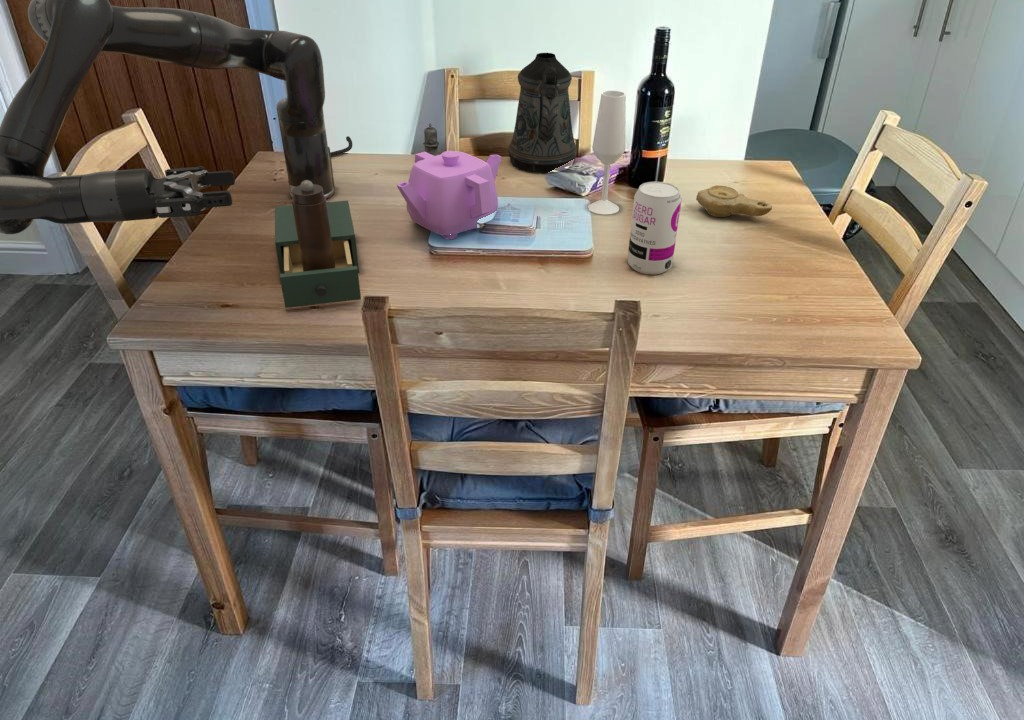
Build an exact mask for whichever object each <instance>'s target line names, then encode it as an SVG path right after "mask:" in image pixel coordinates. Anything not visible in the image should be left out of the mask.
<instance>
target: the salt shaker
mask: <svg viewBox="0 0 1024 720" xmlns="http://www.w3.org/2000/svg"><path fill="white" fill-rule="evenodd" d="M432 125H433V124H432V123H431V122H430V123H429V124H428V127H425V128H424V131H423V135H424V142H423V143H422V144H423V146H424V152H427V153H429V154H431V155H434V156H437V155H440V154H439V145H440V142H439V141H438V130H437V129H436V128H435V127H433V126H432Z"/></svg>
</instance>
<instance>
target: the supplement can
mask: <svg viewBox="0 0 1024 720" xmlns="http://www.w3.org/2000/svg"><path fill="white" fill-rule="evenodd" d="M682 199H683V198H682V196H681V194H680V189H679V188H678V186H676V185H674V184H671V183H669V182H665V181H647V182H643V183H642V184H640V185H639V186H638V189H637V190H636V192H635V194H634V197H633V205H632V215H631V223H630V233H629V242H628V251H627V264H628V265H629V266H630V268H631V269H633V270H634V271H636V272H637V273H640V274H644V275H653V276H654V275H661V274H663V273H666V272H667V271H668V270H669V269H671V268H672V266H673V261H674V256H675V248H676V241H677V234H678V228H679V222H680V221H679V220H680V215H681V214H680V213H681V209H682V208H681V207H682Z"/></svg>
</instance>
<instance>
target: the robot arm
mask: <svg viewBox="0 0 1024 720" xmlns="http://www.w3.org/2000/svg"><path fill="white" fill-rule="evenodd" d="M27 18H28V21H29V24H30V26H31V28H32V29H33V31H34V32H35V33H36V35H37V36H38V37H39V38H41V40H42V41H44V42H45V43H46V45H45V47H44V49H43V52H42V54H41V56H40V58H39V60H38V61H37V64H36V66H35V67H34V68H33V70H32V71H31V73H30V74H29V76H28V77H27V79H26V80H25V81H24V82H23V84H22V85H21V87H20V88H19V90H18V91H17V92H16V94H15V95H14V97H13V99H12V101H11V102H10V103H9V106H8V107H7V109H6V111H5V113H4V116H3V118H2V120H1V123H0V234H4V235H17V234H20V233H23V232H24V231H25V230H27V229H28V228H29V227H30V226H31V225H32V224H33V222H34V220H45V221H49V222H50V223H54V224H58V225H59V224H60V225H74V224H85V223H86V224H87V223H118V222H119V223H120V222H131V221H142V220H154V219H158V218H159V219H165V218H166V219H167V218H182V217H198V216H200V215H201V214H202V212H203V211H206V210H207V209H208V208H209V209H211V208H221V207H231V206H232V205H233V198H232V193H231V191H230V190H213V191H204V192H201V190H204V189H206V188H214V187H227V186H234V185H235V183H236V179H235V174H234V171H232V170H219V171H208V170H207V169H206V168H205V166H202V165H201V166H200V165H199V166H191V167H180V168H167V169H165V170H164V173H165V177H161V178H156V177H154V174H153V172H152V171H151V170H150V169H149V168H133V169H119V170H118V169H117V170H105V171H96V172H92V173H85V174H71V175H59V176H45V169H46V167H47V164H48V162H49V160H50V157H51V154H52V152H53V149H54V147H55V144H56V142H57V139H58V136H59V134H60V131H61V129H62V126H63V124H64V121H65V118H66V116H67V114H68V111H69V109H70V107H71V105H72V103H73V101H74V99H75V97H76V95H77V93H78V91H79V89H80V87H81V86H82V83H83V82H84V80H85V78H86V76H87V74H88V73H89V71H90V69H91V67H92V66H93V64H94V62H95V61H96V59H97V58H98V56H99V55H100V53H113V54H123V55H128V56H133V57H136V58H137V57H138V58H142V59H146V60H150V61H156V62H161V63H166V64H171V65H176V66H181V67H186V68H188V67H189V68H193V69H201V70H213V71H215V70H217V71H218V70H226V69H233V68H234V69H245V70H249V71H252V72H256V73H259V74H262V75H266V76H269V77H272V78H275V79H277V80H281V81H284V82H285V83H286V92H287V93H286V94H287V95H286V97H284V98H282V99H279V101H277V103H276V112H277V113H276V114H277V119H278V126H279V132H280V137H281V145H282V149H283V150H282V151H283V157H284V162H285V168H286V174H287V180H288V188H289V195H290V198H291V199H292V198H293V194H292V190H293V188H295V187H297V186H299V185H301V183H302V182H303V181H304V180H309V181H311V182H312V184H316V185H320V186H321V187H322V188H323V194H324V196H325V197H326V200H328V199H330V198H331V197H333V196H334V193H335V189H336V188H335V187H336V185H335V179H334V178H335V177H334V171H333V163H332V157H334V156H339V155H343V154H345V153H348V152H350V151H351V150H352V149H353V141H352V138H351V137H350V136H349V135H348V136H346V137H345V140H346V142H347V143H348V145H347V147H345V148H342V149H338V150H333V151H331V148H330V146H329V144H328V137H327V136H328V135H327V129H326V128H327V127H326V122H325V115H324V105H325V100H326V86H325V73H324V62H323V56H322V52H321V50H320V47H319V44H318V43H317V42H316V40H314V38H312V37H310V36H308V35H305V34H301V33H296V32H291V31H286V30H271V29H256V28H254V29H253V28H247V27H242V26H238V25H236V24H233V23H231V22H229V21H227V20H225V19H223V18H222V19H221V18H219V17H216V16H213V15H210V14H206V13H202V12H197V11H193V10H192V11H191V10H187V9H181V8H173V7H172V8H171V7H126V6H118V5H112V4H111V2H110V0H30V2H29V5H28V8H27ZM201 211H202V212H201Z"/></svg>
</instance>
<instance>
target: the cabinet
mask: <svg viewBox="0 0 1024 720" xmlns="http://www.w3.org/2000/svg"><path fill="white" fill-rule="evenodd" d="M326 202H327V210H328V217H329V224H330V232H331V239H332V241H337V240H347V239H348V243H349V249H350V254H351V260H352V266H357V269H358V274H360V266H359V259H358V258H359V257H358V249H357V241H356V240H357V239H356V233H355V228H354V223H353V217H352V214H351V213H352V212H351V208H350V204H349V200H347V199H346V200H336V201H326ZM296 244H299V243H298V237H297V231H296V224H295V218H294V212H293V206H292V204H290V205H278V206H274V245H275V251H276V257H277V261H278V267H279V272H280V274H284V273H285V272H284V246H285V245H296Z"/></svg>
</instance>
